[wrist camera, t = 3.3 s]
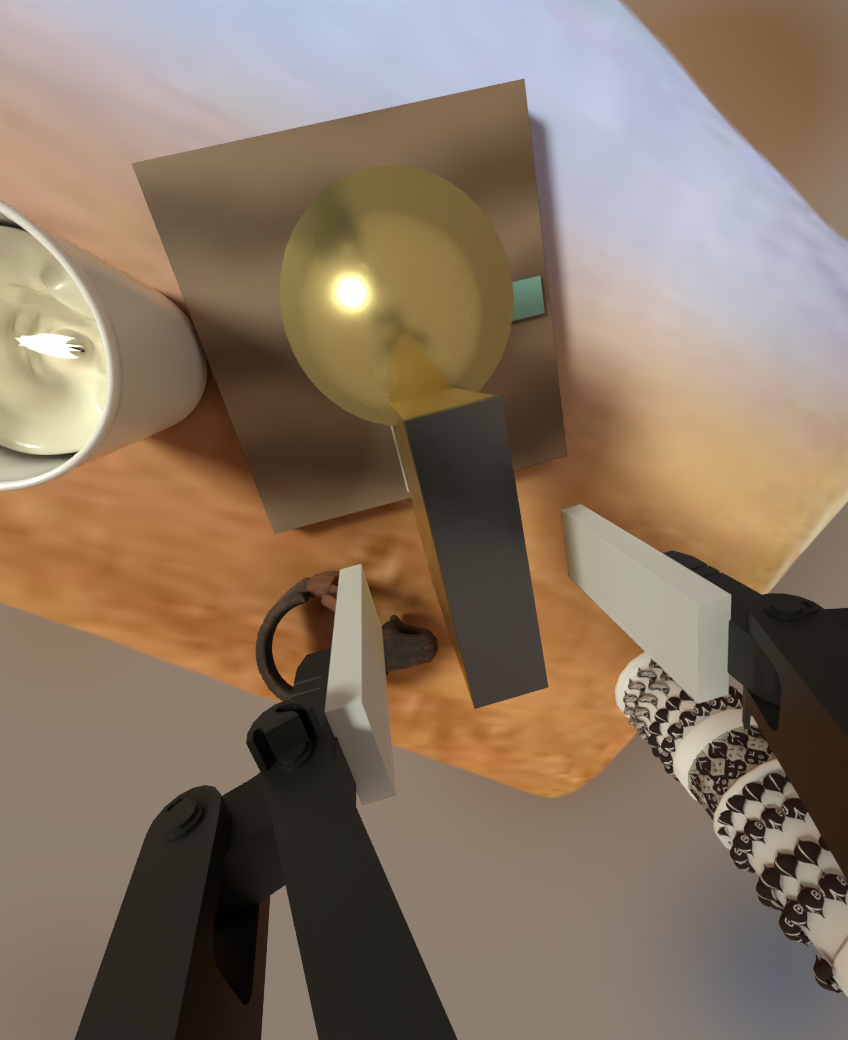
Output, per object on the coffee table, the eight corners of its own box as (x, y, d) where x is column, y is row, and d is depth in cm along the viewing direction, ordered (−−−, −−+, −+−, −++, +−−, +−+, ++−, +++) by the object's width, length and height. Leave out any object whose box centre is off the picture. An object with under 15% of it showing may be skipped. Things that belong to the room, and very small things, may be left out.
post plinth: (150, 180, 23) (2, 46, 13) (511, 101, 24) (609, -75, 14) (280, 523, 30) (243, 593, 20) (554, 451, 31) (639, 485, 21)
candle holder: (249, 330, 26) (159, 295, 14) (184, 471, 28) (60, 537, 16) (73, 224, 23) (-210, 76, 12) (15, 388, 25) (-274, 400, 14)
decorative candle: (695, 716, 41) (1128, 1162, 18) (605, 729, 40) (942, 1222, 17) (712, 635, 38) (1260, 1047, 15) (615, 647, 37) (1044, 1112, 14)
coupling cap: (260, 222, 15) (154, 66, 8) (473, 174, 16) (583, -21, 8) (377, 598, 21) (387, 734, 13) (532, 555, 21) (632, 662, 14)
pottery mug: (306, 691, 35) (247, 731, 27) (297, 575, 36) (238, 580, 28) (451, 682, 33) (434, 722, 25) (437, 559, 34) (416, 560, 26)
